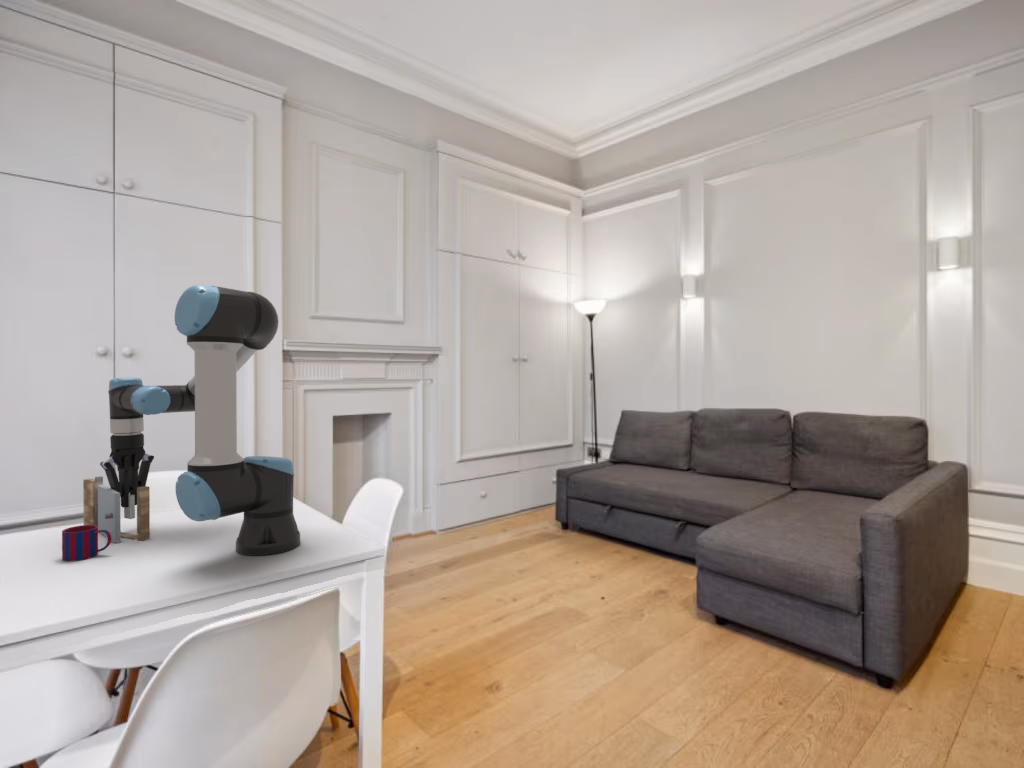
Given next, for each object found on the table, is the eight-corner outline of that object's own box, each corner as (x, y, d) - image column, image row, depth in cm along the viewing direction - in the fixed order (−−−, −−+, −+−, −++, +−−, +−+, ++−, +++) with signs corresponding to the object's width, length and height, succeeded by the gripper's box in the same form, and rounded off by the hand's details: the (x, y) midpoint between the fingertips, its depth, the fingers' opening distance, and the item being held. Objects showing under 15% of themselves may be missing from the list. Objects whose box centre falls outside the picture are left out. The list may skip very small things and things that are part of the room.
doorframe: (150, 538, 142) (150, 482, 142) (141, 541, 140) (140, 484, 140) (91, 526, 153) (91, 474, 153) (82, 528, 151) (81, 476, 151)
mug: (77, 552, 132) (77, 524, 132) (118, 552, 132) (118, 524, 132) (54, 561, 125) (54, 532, 125) (97, 561, 125) (97, 532, 125)
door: (91, 531, 147) (91, 486, 147) (103, 529, 149) (103, 484, 149) (108, 543, 137) (108, 494, 137) (120, 541, 139) (120, 493, 139)
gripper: (143, 430, 154) (145, 510, 155) (93, 435, 143) (95, 522, 144) (159, 431, 151) (161, 513, 152) (109, 437, 139) (112, 526, 140)
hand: (129, 517), depth 148 cm, fingers closed
